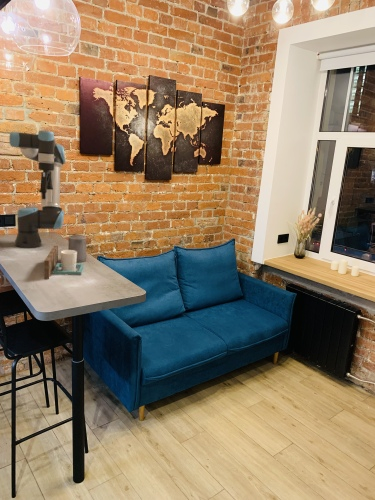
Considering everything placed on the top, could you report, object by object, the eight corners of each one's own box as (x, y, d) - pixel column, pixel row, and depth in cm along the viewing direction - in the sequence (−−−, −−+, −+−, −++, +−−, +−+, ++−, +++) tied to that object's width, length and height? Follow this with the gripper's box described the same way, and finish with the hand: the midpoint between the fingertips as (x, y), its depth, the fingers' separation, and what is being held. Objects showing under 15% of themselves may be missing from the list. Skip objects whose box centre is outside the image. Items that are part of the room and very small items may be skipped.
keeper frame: (81, 274, 186) (81, 272, 186) (53, 274, 184) (53, 271, 183) (83, 266, 199) (83, 264, 199) (57, 265, 196) (57, 263, 196)
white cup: (79, 269, 193) (80, 251, 191) (70, 274, 186) (70, 254, 184) (67, 267, 196) (67, 248, 193) (57, 271, 189) (57, 252, 186)
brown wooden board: (48, 279, 177) (48, 261, 174) (44, 278, 176) (44, 260, 174) (57, 261, 203) (57, 246, 201) (54, 261, 203) (54, 245, 200)
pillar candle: (73, 256, 215) (73, 231, 211) (89, 259, 213) (89, 233, 209) (65, 261, 205) (64, 235, 201) (81, 263, 204) (81, 237, 200)
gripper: (49, 164, 179) (49, 207, 184) (57, 161, 202) (57, 200, 208) (33, 162, 177) (33, 206, 183) (43, 160, 201) (43, 199, 206)
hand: (46, 203), depth 195 cm, fingers open, 13 cm apart
